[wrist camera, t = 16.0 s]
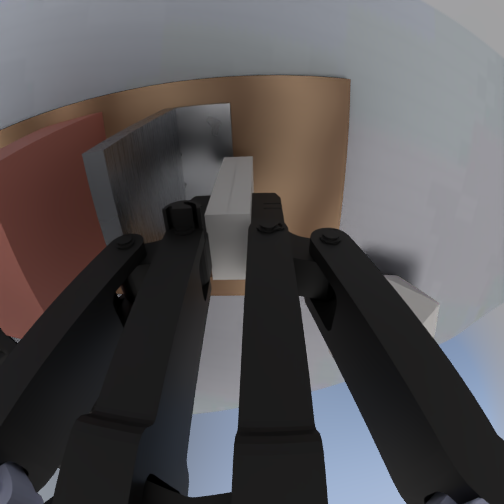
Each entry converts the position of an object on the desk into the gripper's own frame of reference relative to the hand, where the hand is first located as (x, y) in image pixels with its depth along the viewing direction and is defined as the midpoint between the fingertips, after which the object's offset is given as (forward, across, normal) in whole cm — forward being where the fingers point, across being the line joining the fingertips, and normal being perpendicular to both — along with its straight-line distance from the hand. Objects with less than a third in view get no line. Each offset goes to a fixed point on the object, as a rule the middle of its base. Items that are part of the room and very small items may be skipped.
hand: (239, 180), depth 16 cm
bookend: (+2, -2, 0) cm, 3 cm away
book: (+2, -11, 0) cm, 11 cm away
